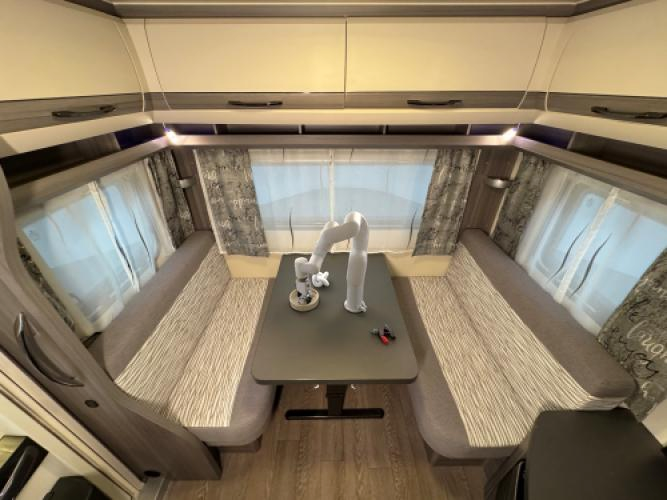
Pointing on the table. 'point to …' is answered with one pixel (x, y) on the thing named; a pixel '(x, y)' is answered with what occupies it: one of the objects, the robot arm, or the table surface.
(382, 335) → the toy gun
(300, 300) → the game controller
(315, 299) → the bowl
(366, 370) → the table surface
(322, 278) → the white knot sculpture
